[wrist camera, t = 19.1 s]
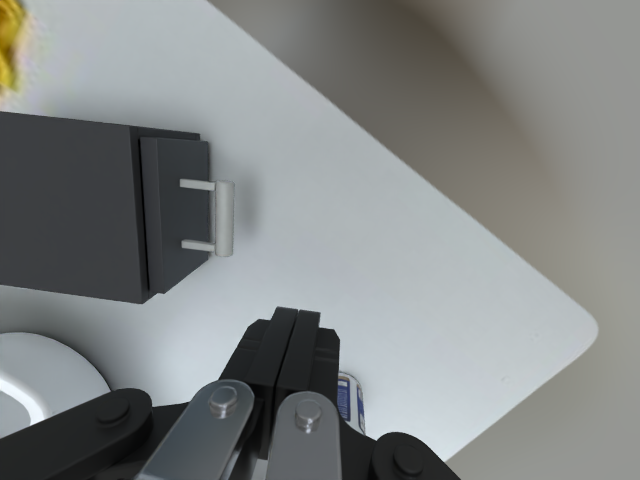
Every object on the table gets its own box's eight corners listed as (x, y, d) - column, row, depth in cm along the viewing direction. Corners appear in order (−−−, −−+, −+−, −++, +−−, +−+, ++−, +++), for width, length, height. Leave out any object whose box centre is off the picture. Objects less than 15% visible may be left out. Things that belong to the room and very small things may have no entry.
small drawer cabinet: (199, 133, 28) (129, 125, 19) (201, 260, 32) (142, 304, 23) (50, 117, 29) (-87, 101, 20) (68, 243, 32) (-41, 279, 23)
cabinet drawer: (254, 146, 27) (219, 145, 20) (249, 264, 30) (217, 301, 23) (66, 125, 28) (-36, 116, 21) (81, 242, 31) (-2, 271, 24)
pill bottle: (306, 393, 35) (293, 480, 26) (332, 362, 34) (327, 442, 25) (344, 416, 36) (344, 509, 27) (371, 387, 34) (381, 474, 25)
